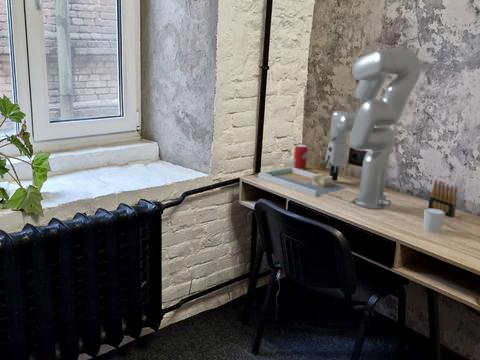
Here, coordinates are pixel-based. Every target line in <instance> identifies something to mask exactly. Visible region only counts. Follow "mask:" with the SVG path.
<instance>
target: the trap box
mask: <svg viewBox="0 0 480 360" xmlns="http://www.w3.org/2000/svg"><path fill="white" fill-rule="evenodd" d="M290 174H295V175H298V176H296V177H292V178H289V177H286V176H284V175H290ZM316 174H317V173H313V172H310V171H306V170H305V169H304V170H300V169H297V168H293V166H289V167H284V168H283V167H282V168H278V169H272V170H268V171H267V170H266V171H261V172H258V177H257V180H259V181H260V180H265V181H268V182H271V183H275V184H277V185H279V186H283V187H287V188H290V189H293V190H295V191H299V192H301V193H304V194H308V195H310V196H313V197H317V196H321V195H326V194H328V193H332V192H336V191H341V190H344V189H347V186H346V187H345V186H342V185H339V184H336V183H332V184H331V186H327V187H320V186H317V185H313V184H312V181H310V182H306V183H304V182H301V181H300V180H299V181H298V180H296V179H300V178H303V177H305V178H308V179H310V180H312V178H313V175H316Z"/></svg>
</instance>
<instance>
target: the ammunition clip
mask: <svg viewBox="0 0 480 360" xmlns="http://www.w3.org/2000/svg"><path fill="white" fill-rule="evenodd" d="M445 184H446V183H445V182H443V183H442V182H441V181H439V182H438V180H435V181H434V183H433V186H432V190H431V193H430V194H431V195H430V197H429V201H428V206H427V208H435V209H439V210H442V211H444V212H445V216H447V217H449V218H454V217H455V214H456V208H457V207H456V206H457V203H456V202H457V197H458V196H457V195H458V186H455V187H454V186H453V184H452V185H449V183H447V184H446V185H445Z"/></svg>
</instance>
